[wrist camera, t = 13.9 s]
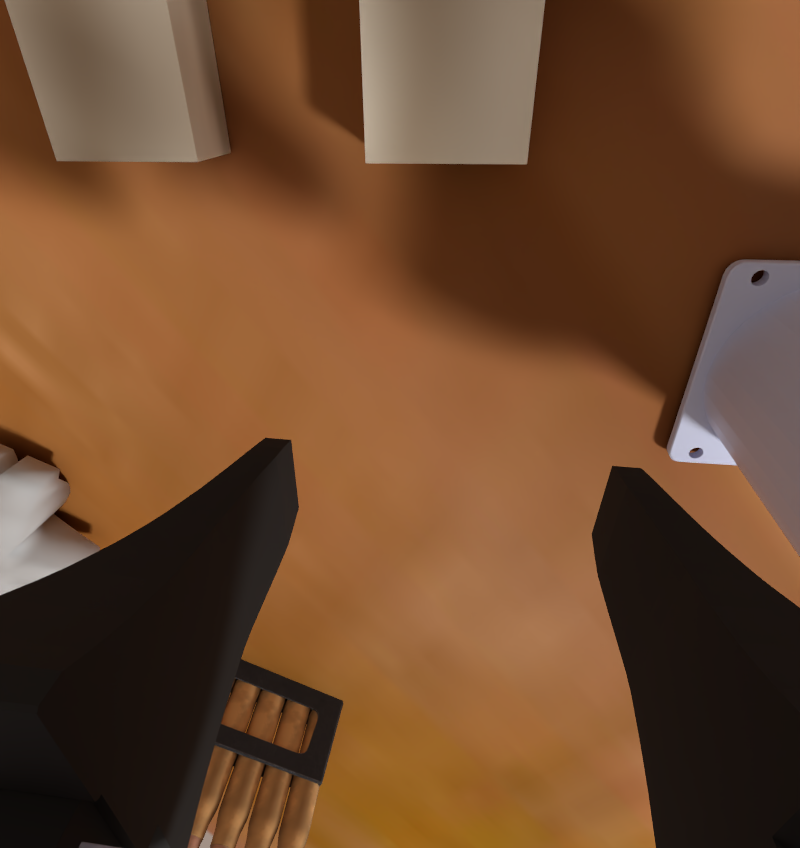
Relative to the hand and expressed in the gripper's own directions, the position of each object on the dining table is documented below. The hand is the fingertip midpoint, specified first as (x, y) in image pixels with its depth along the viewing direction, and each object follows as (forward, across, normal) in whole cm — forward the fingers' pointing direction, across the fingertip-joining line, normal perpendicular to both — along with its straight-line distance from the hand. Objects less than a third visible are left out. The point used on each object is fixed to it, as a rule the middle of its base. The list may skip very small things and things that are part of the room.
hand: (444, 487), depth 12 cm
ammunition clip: (+10, +10, +25) cm, 29 cm away
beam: (+10, +6, -9) cm, 14 cm away
